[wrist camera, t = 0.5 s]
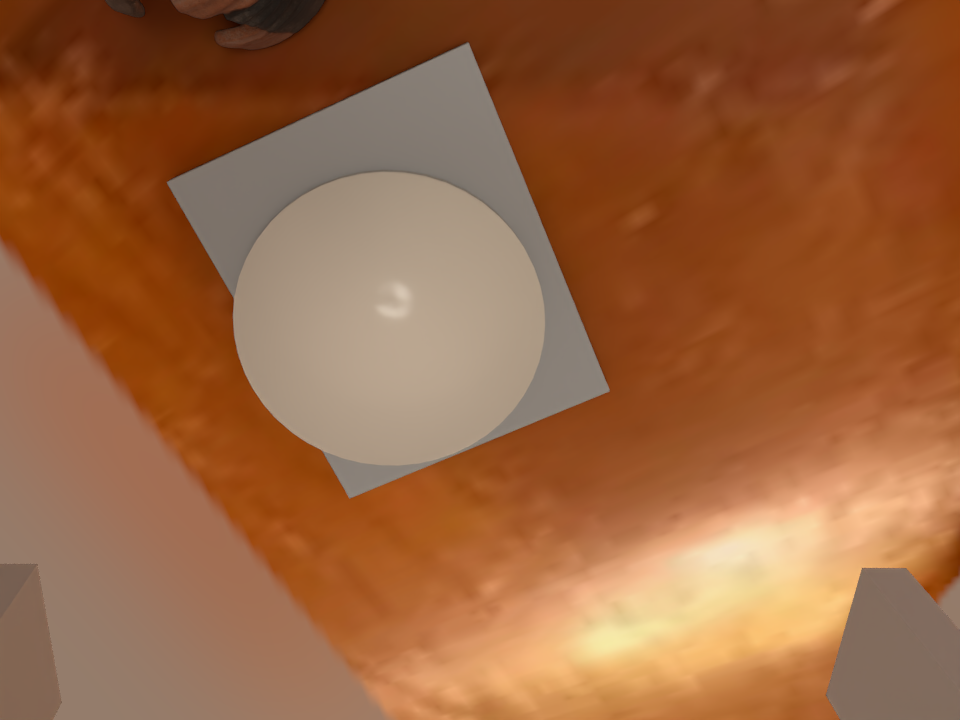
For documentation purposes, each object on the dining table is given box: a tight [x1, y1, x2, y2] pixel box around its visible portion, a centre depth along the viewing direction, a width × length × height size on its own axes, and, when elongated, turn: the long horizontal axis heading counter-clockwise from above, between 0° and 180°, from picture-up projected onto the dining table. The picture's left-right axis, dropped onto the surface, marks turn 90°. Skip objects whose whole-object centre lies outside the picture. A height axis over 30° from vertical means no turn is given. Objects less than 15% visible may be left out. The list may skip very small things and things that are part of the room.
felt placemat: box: [167, 42, 610, 498], centre depth 36 cm, size 16×13×1 cm
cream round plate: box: [233, 170, 545, 466], centre depth 36 cm, size 13×13×1 cm
